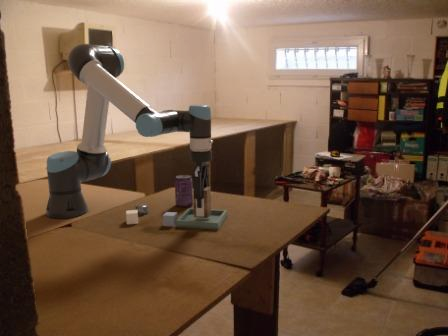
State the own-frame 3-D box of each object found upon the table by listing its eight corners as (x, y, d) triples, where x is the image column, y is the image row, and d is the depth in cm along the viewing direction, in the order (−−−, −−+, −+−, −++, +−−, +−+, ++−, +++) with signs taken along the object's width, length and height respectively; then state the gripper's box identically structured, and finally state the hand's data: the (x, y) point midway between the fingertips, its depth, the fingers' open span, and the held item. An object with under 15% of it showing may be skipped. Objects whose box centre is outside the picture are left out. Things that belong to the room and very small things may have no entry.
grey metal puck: (133, 214, 166) (132, 207, 165) (138, 211, 171) (138, 203, 170) (145, 215, 165) (145, 207, 164) (150, 211, 170) (150, 204, 169)
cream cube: (126, 224, 155) (126, 213, 154) (126, 221, 159) (126, 210, 158) (138, 223, 155) (137, 212, 155) (138, 220, 159) (137, 209, 159)
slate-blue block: (163, 226, 152) (162, 215, 152) (167, 222, 156) (166, 211, 155) (174, 226, 152) (173, 215, 151) (177, 223, 155) (177, 212, 155)
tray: (176, 227, 151) (176, 220, 150) (189, 214, 165) (188, 208, 165) (218, 229, 148) (218, 223, 147) (227, 216, 162) (227, 210, 161)
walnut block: (194, 217, 154) (193, 190, 152) (197, 213, 159) (197, 186, 157) (207, 218, 153) (207, 190, 151) (211, 213, 158) (210, 187, 156)
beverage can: (184, 201, 182) (183, 173, 180) (196, 204, 178) (195, 176, 175) (172, 205, 177) (170, 176, 174) (184, 208, 172) (183, 179, 170)
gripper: (204, 154, 142) (206, 222, 146) (217, 146, 159) (218, 206, 164) (182, 153, 143) (184, 220, 148) (197, 145, 161) (199, 206, 165)
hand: (202, 213), depth 156 cm, fingers closed on walnut block, 5 cm apart
